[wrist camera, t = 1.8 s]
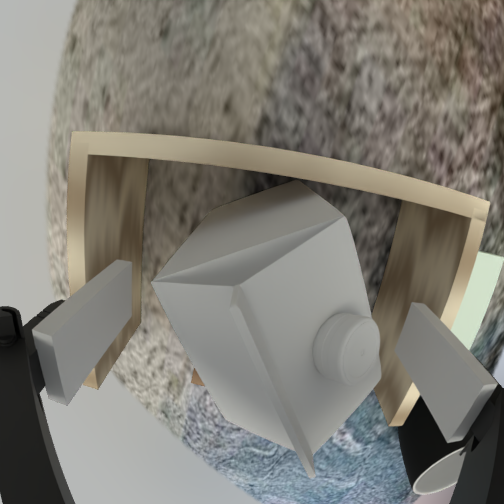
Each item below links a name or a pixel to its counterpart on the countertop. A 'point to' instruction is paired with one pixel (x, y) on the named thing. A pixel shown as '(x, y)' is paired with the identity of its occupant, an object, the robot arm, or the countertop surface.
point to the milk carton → (275, 316)
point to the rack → (287, 164)
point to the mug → (429, 452)
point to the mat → (477, 297)
